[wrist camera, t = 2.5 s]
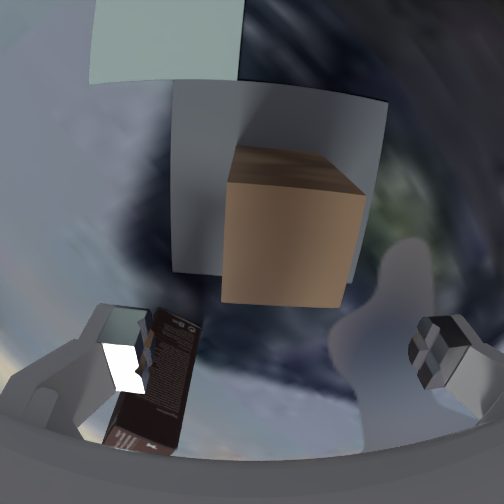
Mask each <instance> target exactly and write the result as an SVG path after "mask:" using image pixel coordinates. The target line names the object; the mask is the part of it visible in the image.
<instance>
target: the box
mask: <svg viewBox="0 0 504 504" xmlns="http://www.w3.org/2000/svg"><path fill="white" fill-rule="evenodd" d="M152 320H153V321H152V325H151V328H150V329H151V330H152V331H153V332H154V335H155V355H154V360H153V364H152V365H151V366H150V367H148V371H149V379H148V383H147V387H146V391H145V394H143V393H134V392H126V391H121V392H120V395H119V397H118V400H117V403H116V406H115V408H114V411H113V414H112V416H111V419H110V422H109V425H108V428H107V431H106V434H105V436H104V439H103V442H102V444H103V445H107V446H112V447H117V448H122V449H128V450H133V451H139V452H145V453H152V454H159V455H167V456H170V455H171V454H172V453H173V452H174V451H176V450H177V447H178V443H179V437H180V432H181V428H182V422H183V417H184V412H185V407H186V402H187V397H188V392H189V387H190V382H191V377H192V372H193V367H194V363H195V358H196V354H197V349H198V344H199V339H200V335H201V331H202V329H201V328H200V327H199V326H197V325H196V324H194V323H192V322H189V321H187V320H185V319H184V318H182V317H179V316H177V315H175V314H172V313H170V312H168V311H166V310H164V309H161V308H158V309H157V311H156V313H155V315H154V317H153V319H152Z"/></svg>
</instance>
